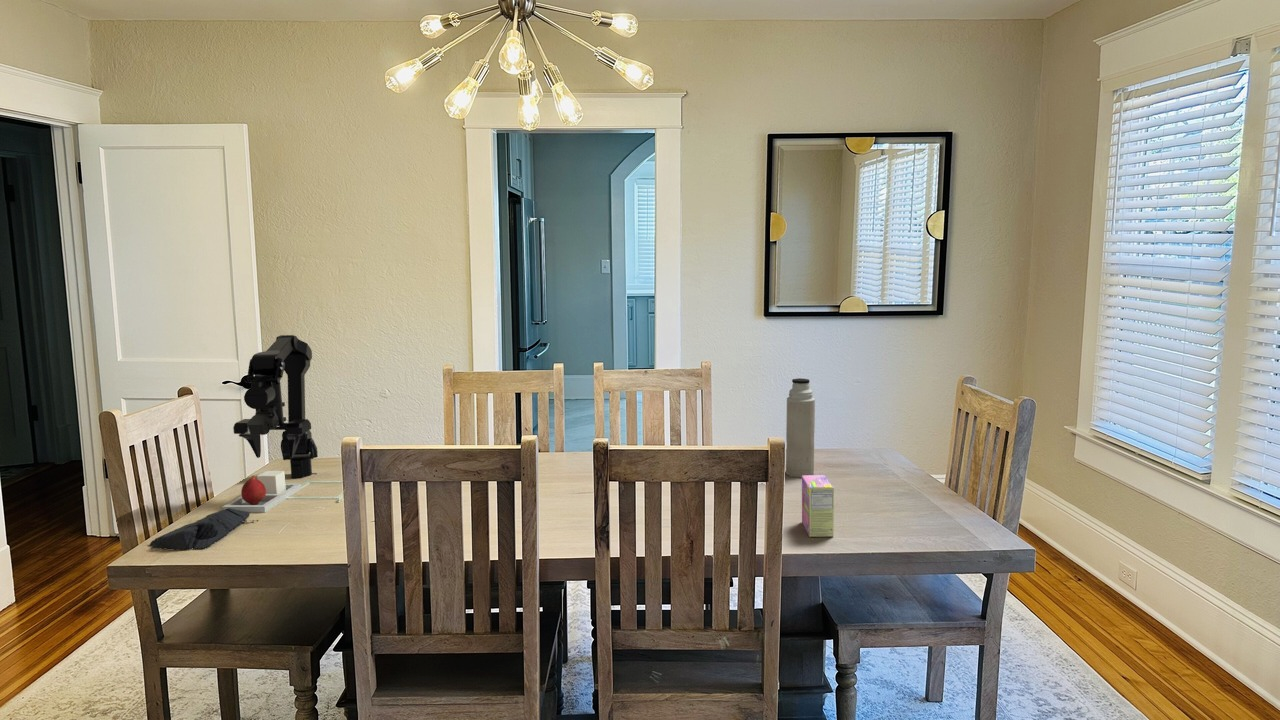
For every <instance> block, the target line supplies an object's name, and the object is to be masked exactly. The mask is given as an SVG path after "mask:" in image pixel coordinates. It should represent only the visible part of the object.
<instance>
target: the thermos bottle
mask: <svg viewBox="0 0 1280 720" xmlns="http://www.w3.org/2000/svg"><path fill="white" fill-rule="evenodd" d="M791 382H792V386H791V387H792V388H790V389H789V393H788V396H787V398H786V432H785V433H786V434H785V435H786V438H785V439H786V441H785V442H786V449H785V451H786V452H785V459H786V460H785V474H786V475H787V476H790V477H794V478H802V476H804V475H815V424H816V423H815V420H816V418H815V413H816V412H815V411H816V408H815V407H816V399H815V398H814V397H813V395H814V394H813V390H812V389H811V388H810V387H811V386H810V379H808V378H793V379H792V380H791Z"/></svg>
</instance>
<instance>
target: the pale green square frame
mask: <svg viewBox="0 0 1280 720" xmlns="http://www.w3.org/2000/svg"><path fill="white" fill-rule="evenodd" d="M342 481H343V480H306V481H305V482H304V483H302V484H301V489H302V488H304V487H306V486H308V485H309V484H343V483H342ZM343 492H344V491H342V492H341V493H340V494H338V495H337V496H290V497H287V498H286V499H285V500H336V501H335V502H338V501H339V503H341V502H340V500H341V499H342V501H344V499H343Z"/></svg>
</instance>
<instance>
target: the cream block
mask: <svg viewBox="0 0 1280 720" xmlns="http://www.w3.org/2000/svg"><path fill="white" fill-rule="evenodd" d="M285 474H286V473H285V470H266V471H264V472H262V473H260V474H259V475H257V476H256V479H257V480H259V481H261V482H262V483H263V484H264V486H265V488H266V494H281V493H283V492H284V491H286V485H285V484H286V477H285Z"/></svg>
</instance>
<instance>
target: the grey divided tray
mask: <svg viewBox="0 0 1280 720" xmlns="http://www.w3.org/2000/svg"><path fill="white" fill-rule="evenodd" d="M285 485H286V491H284V492H283V493H281V494H266V495H265V497H264V498H263V499H262V500H261V501H260V502H259V503H258V505H251V504H249V503H247V502H246V501H244V500H243V498H242V495H241V496H239V497H237V498H236V499H234V500H231V501H230V502H228V503H227V504H225V505H223V506H222V507H221V509H222V510H224V509H228V508H230V509H235V510H241V511H247V512H249V513H250V514H251V513H253V514H254V513H259V514H260V513H261V514H262V513H264V514H265V513H267V512H268V511H270V510H272V509H273V508H275V507H276V506H278V505H279V504H281V503H282V502H284V501H285V500H287V499H286V498H287V497H293V495H295V494H296V493H297V492H299V491H302V488H301V485H302V484H301V483H285Z"/></svg>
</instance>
